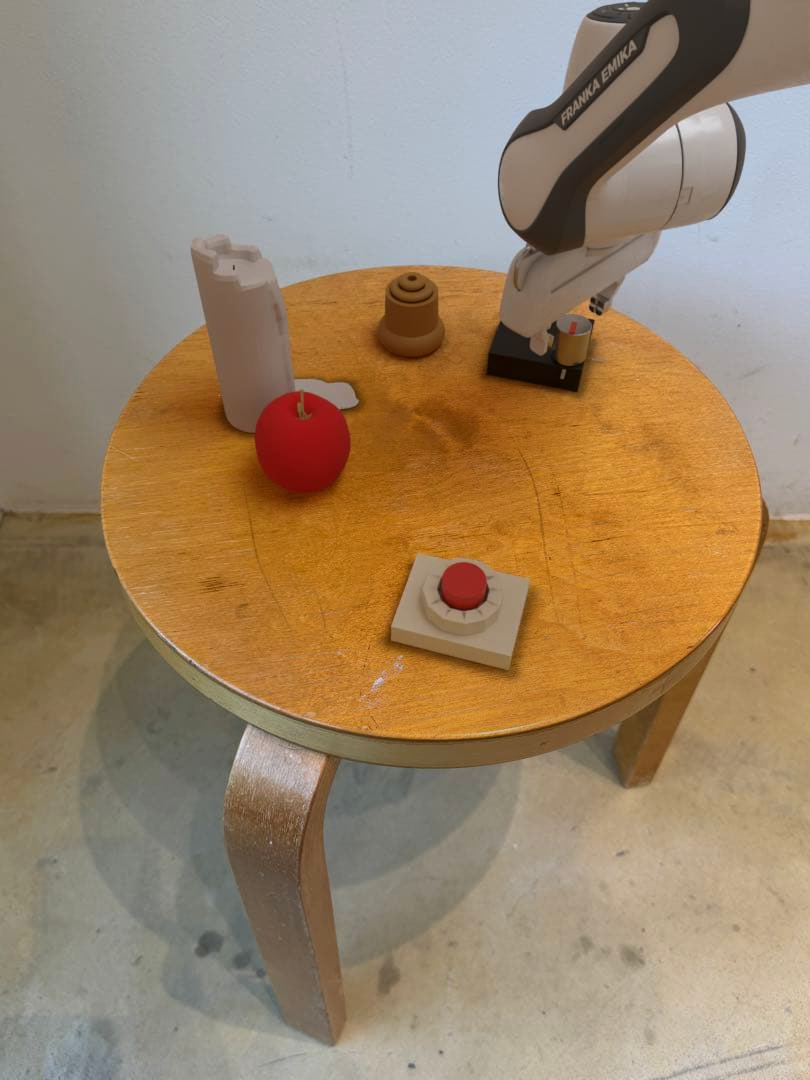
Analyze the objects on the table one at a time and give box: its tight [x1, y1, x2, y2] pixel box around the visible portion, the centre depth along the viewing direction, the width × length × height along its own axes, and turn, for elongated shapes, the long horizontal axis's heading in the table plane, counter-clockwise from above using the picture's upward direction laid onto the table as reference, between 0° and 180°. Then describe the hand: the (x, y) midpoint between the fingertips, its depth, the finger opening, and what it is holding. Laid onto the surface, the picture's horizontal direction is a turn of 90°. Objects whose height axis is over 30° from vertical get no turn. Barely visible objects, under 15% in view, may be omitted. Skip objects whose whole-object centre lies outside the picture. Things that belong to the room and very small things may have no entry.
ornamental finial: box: [377, 271, 446, 358], centre depth 93 cm, size 8×8×8 cm
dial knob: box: [551, 313, 592, 366], centre depth 88 cm, size 4×4×4 cm
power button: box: [441, 562, 487, 610], centre depth 69 cm, size 4×4×2 cm
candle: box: [190, 233, 360, 434], centre depth 81 cm, size 7×14×20 cm, turn 105°
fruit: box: [254, 389, 352, 494], centre depth 79 cm, size 9×9×10 cm
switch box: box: [390, 552, 531, 671], centre depth 71 cm, size 10×8×4 cm
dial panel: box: [485, 317, 606, 393], centre depth 92 cm, size 12×11×3 cm
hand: (570, 330), depth 87 cm, fingers open, 8 cm apart
